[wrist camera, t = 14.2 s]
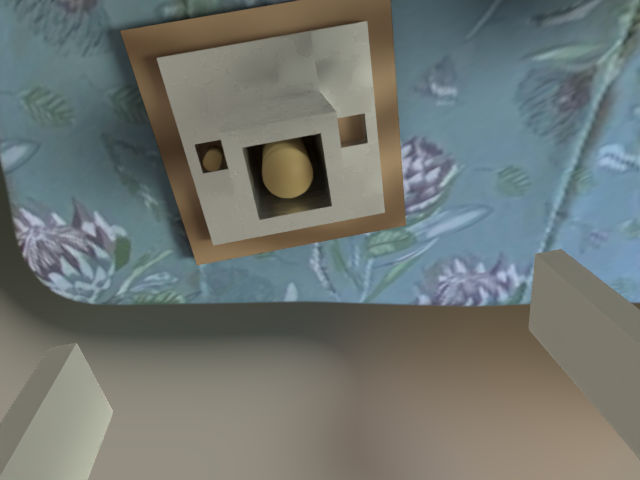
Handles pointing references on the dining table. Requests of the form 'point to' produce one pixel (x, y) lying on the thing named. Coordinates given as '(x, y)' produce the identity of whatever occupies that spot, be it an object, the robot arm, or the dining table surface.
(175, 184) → the post board
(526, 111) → the dining table surface
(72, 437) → the robot arm
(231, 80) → the flange
